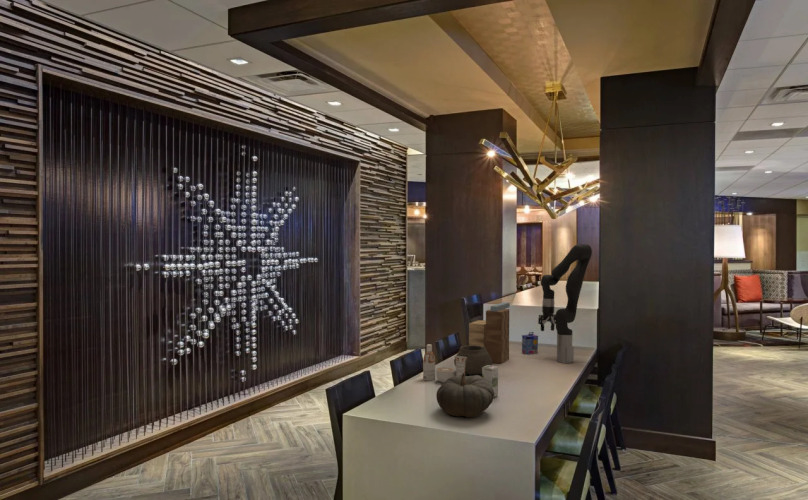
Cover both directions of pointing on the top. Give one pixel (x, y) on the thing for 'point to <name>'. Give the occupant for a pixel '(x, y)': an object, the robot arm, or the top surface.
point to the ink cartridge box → (530, 343)
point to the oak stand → (477, 333)
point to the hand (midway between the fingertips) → (547, 330)
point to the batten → (500, 306)
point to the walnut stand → (497, 335)
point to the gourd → (465, 395)
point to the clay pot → (474, 358)
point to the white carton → (491, 377)
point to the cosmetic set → (441, 372)
